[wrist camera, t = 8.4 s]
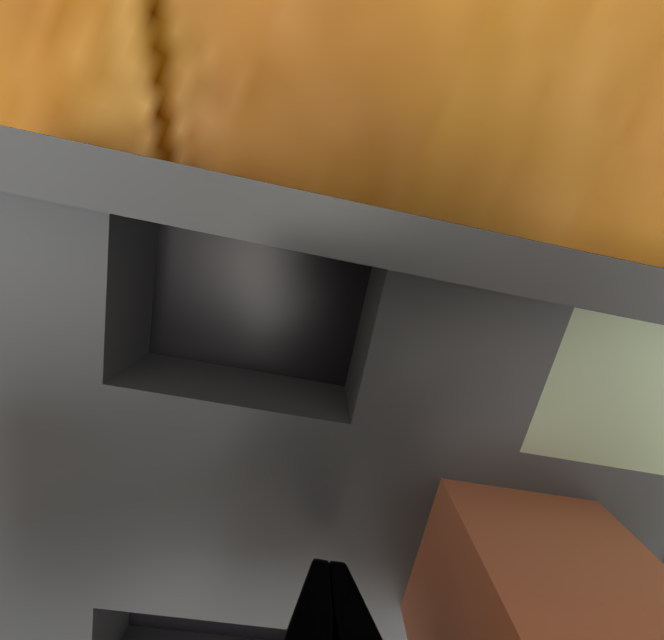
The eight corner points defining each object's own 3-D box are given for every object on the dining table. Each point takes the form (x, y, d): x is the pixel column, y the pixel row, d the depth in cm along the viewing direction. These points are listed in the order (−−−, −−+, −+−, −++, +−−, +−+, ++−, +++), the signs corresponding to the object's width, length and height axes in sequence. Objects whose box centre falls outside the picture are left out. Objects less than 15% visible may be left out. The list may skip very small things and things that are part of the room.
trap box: (50, 627, 13) (-66, 796, 9) (52, 154, 9) (-155, 91, 5) (536, 678, 14) (615, 841, 11) (720, 296, 10) (954, 331, 7)
